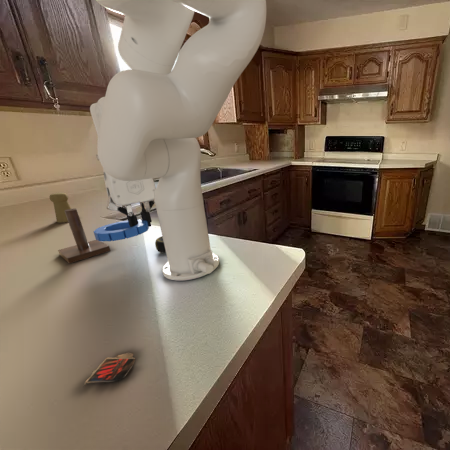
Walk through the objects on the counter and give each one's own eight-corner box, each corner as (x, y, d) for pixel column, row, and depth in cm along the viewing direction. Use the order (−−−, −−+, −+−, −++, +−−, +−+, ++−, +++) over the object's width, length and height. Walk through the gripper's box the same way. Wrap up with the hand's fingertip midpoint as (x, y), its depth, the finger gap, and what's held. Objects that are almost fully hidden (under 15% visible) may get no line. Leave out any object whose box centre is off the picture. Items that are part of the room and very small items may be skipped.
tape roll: (156, 230, 65) (154, 222, 64) (106, 244, 56) (103, 236, 55) (137, 224, 71) (135, 217, 70) (90, 236, 62) (87, 229, 62)
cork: (53, 221, 96) (43, 194, 92) (71, 217, 101) (62, 191, 98) (62, 223, 94) (51, 195, 90) (80, 218, 99) (71, 191, 95)
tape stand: (110, 250, 69) (97, 208, 65) (69, 263, 62) (51, 216, 58) (99, 243, 74) (86, 203, 70) (59, 254, 67) (42, 211, 63)
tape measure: (182, 253, 67) (180, 240, 65) (154, 257, 65) (151, 244, 63) (185, 243, 73) (183, 232, 71) (160, 247, 71) (157, 235, 69)
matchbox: (128, 379, 31) (127, 376, 31) (80, 391, 30) (79, 388, 30) (139, 351, 36) (138, 348, 35) (97, 360, 34) (96, 357, 34)
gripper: (88, 160, 53) (113, 239, 59) (162, 155, 65) (177, 221, 71) (77, 160, 57) (102, 234, 63) (149, 156, 69) (164, 217, 75)
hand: (141, 226), depth 67 cm, fingers closed on tape roll, 2 cm apart
